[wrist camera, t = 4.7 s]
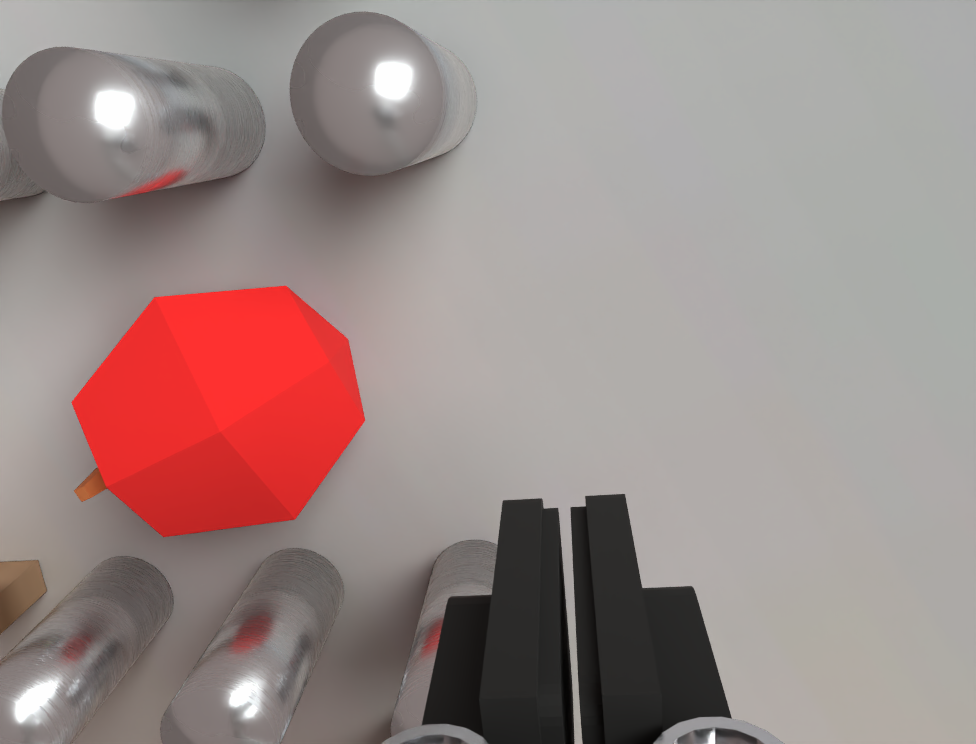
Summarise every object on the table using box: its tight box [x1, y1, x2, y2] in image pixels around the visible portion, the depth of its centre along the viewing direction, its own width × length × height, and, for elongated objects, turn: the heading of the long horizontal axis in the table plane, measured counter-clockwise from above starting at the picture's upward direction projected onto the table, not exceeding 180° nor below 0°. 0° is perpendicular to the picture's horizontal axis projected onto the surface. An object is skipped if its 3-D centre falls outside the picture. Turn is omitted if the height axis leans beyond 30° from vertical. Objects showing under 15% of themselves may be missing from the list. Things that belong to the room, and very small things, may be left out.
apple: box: [72, 286, 365, 537], centre depth 22 cm, size 7×7×8 cm
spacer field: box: [0, 12, 498, 744], centre depth 22 cm, size 15×30×7 cm, turn 6°
